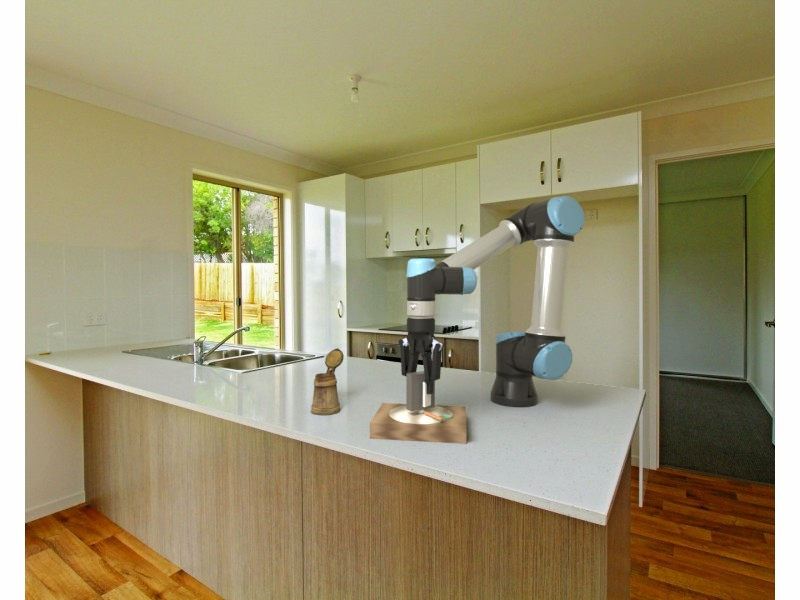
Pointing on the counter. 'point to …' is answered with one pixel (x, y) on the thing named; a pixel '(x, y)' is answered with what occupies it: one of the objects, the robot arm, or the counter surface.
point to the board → (419, 424)
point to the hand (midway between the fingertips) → (420, 404)
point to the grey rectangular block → (418, 394)
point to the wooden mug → (327, 386)
